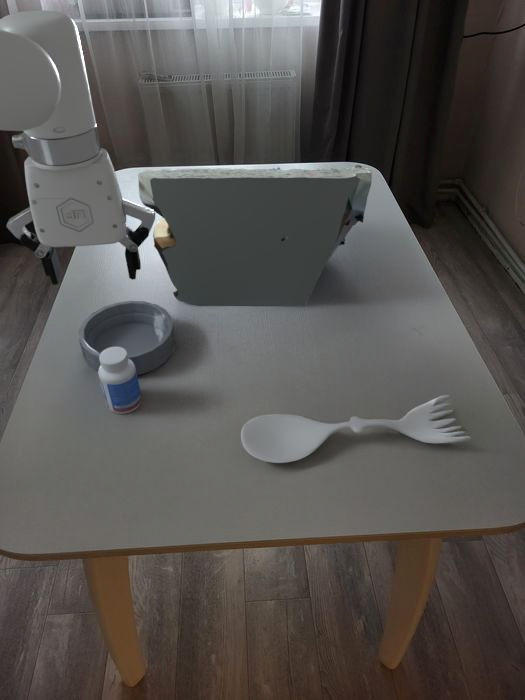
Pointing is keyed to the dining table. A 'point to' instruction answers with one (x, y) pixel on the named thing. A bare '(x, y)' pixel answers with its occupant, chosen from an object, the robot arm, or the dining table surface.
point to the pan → (129, 334)
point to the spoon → (307, 435)
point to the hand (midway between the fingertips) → (95, 276)
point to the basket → (251, 229)
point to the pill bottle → (119, 381)
